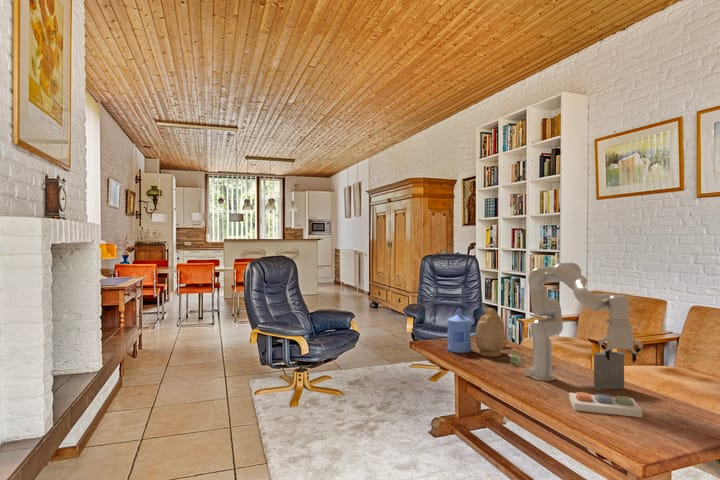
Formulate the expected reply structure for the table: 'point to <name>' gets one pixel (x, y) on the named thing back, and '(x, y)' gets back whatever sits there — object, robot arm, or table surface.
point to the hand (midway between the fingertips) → (621, 361)
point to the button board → (605, 406)
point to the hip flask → (609, 371)
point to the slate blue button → (603, 398)
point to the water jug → (459, 333)
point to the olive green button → (624, 400)
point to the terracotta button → (583, 396)
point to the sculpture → (490, 333)
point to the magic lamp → (506, 341)
